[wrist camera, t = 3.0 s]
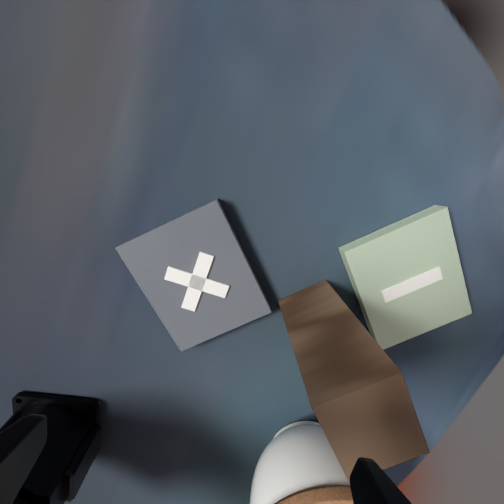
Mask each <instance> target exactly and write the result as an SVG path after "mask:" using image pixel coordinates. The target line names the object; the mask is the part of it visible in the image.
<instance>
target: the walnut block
mask: <svg viewBox="0 0 504 504" xmlns="http://www.w3.org/2000/svg"><path fill="white" fill-rule="evenodd" d="M278 302H279V305H280V308H281V312H282V315H283V318H284V321H285V324H286V328H287V331H288V334H289V337H290V340H291V343H292V347H293V350H294V353H295V356H296V359H297V362H298V366H299V369H300V372H301V375H302V378H303V381H304V385H305V388H306V391H307V394H308V397H309V400H310V404H311V407H312V409H313V411H314V413H315V415H316V417H317V419H318V421H319V423H320V425H321V427H322V429H323V431H324V433H325V435H326V437H327V439H328V441H329V443H330V445H331V447H332V449H333V451H334V453H335V455H336V457H337V459H338V461H339V463H340V465H341V467H342V469H343V471H344V473H345V475H346V477H347V479H348V481H349V482H350V474H351V472H352V470H353V468H354V465H355V463H356V461H357V459H358V458H359V457H364V458H371V459H373V460H374V461H375V462H376V463H377V464H378V465H379V467H380V468H381V469H382V470H384V469H387V468H389V467H392V466H395V465H397V464H400V463H403V462H406V461H408V460H411V459H414V458H416V457H419V456H422V455H424V454H427V453H430V452H429V449H428V446H427V443H426V440H425V438H424V435H423V432H422V429H421V426H420V423H419V420H418V418H417V415H416V412H415V409H414V406H413V403H412V400H411V398H410V395H409V392H408V389H407V386H406V383H405V380H404V378H403V375H402V372H401V371H400V370H399V368H398V367H397V366H396V365H395V364H394V362H393V361H392V360H391V359H390V358H389V356H388V355H387V354H386V353H385V351H384V350H383V349H382V348H381V347H380V345H379V344H378V343H377V342H376V340H375V339H374V338H373V337H372V336H371V334H370V333H369V332H368V331H367V330H366V328H365V327H364V326H363V325H362V323H361V322H360V321H359V320H358V319H357V317H356V316H355V315H354V314H353V312H352V311H351V310H350V309H349V308H348V306H347V305H346V304H345V303H344V302H343V300H342V299H341V298H340V297H339V295H338V294H337V293H336V292H335V291H334V289H333V288H332V287H331V286H330V284H329V283H328V282H327V281H326V280H324V281H322V282H320V283H317V284H315V285H313V286H310V287H308V288H306V289H303V290H301V291H299V292H297V293H294V294H292V295H290V296H287V297H285V298H283V299H280V300H278Z"/></svg>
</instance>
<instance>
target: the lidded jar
mask: <svg viewBox="0 0 504 504" xmlns="http://www.w3.org/2000/svg"><path fill="white" fill-rule="evenodd" d="M250 504H353V499H352V493H351V488H350V482H349V481H348V479H347V477H346V475H345V473H344V471H343V469H342V467H341V465H340V463H339V461H338V459H337V457H336V455H335V453H334V451H333V449H332V447H331V445H330V443H329V441H328V439H327V437H326V435H325V433H324V431H323V429H322V427H321V425H320V423H318V422H314V421H298V422H294V423H291V424H288V425H286V426H285V427H283V428H282V429H280V430H279V431H278V432H277V433H276V434H275V436H274V437H273V439H272V441H271V442H270V443H269V444H268V445H267V446H266V448H265V449H264V451H263V452H262V454H261V456H260V458H259V461H258V463H257V465H256V469H255V472H254V476H253V480H252V487H251V494H250Z"/></svg>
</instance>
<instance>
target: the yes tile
mask: <svg viewBox="0 0 504 504" xmlns="http://www.w3.org/2000/svg"><path fill="white" fill-rule="evenodd" d="M338 249H339V252H340V254H341V257H342V260H343V262H344V265H345V268H346V270H347V273H348V276H349V278H350V281H351V284H352V286H353V289H354V292H355V295H356V297H357V300H358V303H359V305H360V308H361V311H362V313H363V316H364V319H365V321H366V324H367V327H368V329H369V332H370V334H371V336H372V337H373V338H374V339H375V340H376V342H377V343H378V344H379V345H380V347H381V348H382V349H383V350H384V349H386V348H389V347H391V346H394V345H396V344H399V343H401V342H403V341H406V340H408V339H411V338H413V337H416V336H418V335H421V334H423V333H426V332H428V331H430V330H433V329H435V328H438V327H440V326H443V325H445V324H448V323H450V322H452V321H455V320H457V319H460V318H462V317H465V316H467V315H470V314H472V311H471V306H470V302H469V298H468V294H467V289H466V285H465V281H464V276H463V272H462V268H461V263H460V259H459V255H458V251H457V246H456V242H455V238H454V233H453V229H452V225H451V221H450V216H449V212H448V208H447V207H445V206H438V205H434V206H431V207H429V208H427V209H425V210H422V211H420V212H418V213H416V214H413V215H411V216H409V217H407V218H404V219H402V220H400V221H397V222H395V223H393V224H391V225H388V226H386V227H384V228H382V229H379V230H377V231H375V232H373V233H370V234H368V235H366V236H364V237H361V238H359V239H357V240H355V241H352V242H350V243H348V244H346V245H343V246H341V247H339V248H338Z"/></svg>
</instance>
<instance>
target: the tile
mask: <svg viewBox="0 0 504 504" xmlns="http://www.w3.org/2000/svg"><path fill="white" fill-rule="evenodd" d="M115 249H116V250H117V252H118V254H119V255H120V257H121V258H122V260H123V261H124V263H125V264H126V266H127V268H128V269H129V271H130V272H131V274H132V275H133V277H134V279H135V280H136V282H137V283H138V285H139V286H140V288H141V290H142V291H143V293H144V294H145V296H146V297H147V299H148V301H149V302H150V304H151V305H152V307H153V308H154V310H155V311H156V313H157V315H158V316H159V318H160V319H161V321H162V322H163V324H164V326H165V327H166V329H167V330H168V332H169V333H170V335H171V337H172V338H173V340H174V341H175V343H176V344H177V346H178V348H179V349H180V351H183V350H186V349H188V348H190V347H193V346H195V345H197V344H200V343H202V342H204V341H207V340H209V339H211V338H214V337H216V336H218V335H220V334H223V333H225V332H227V331H230V330H232V329H234V328H237V327H239V326H241V325H244V324H246V323H248V322H251V321H253V320H255V319H258V318H260V317H262V316H264V315H267V314H269V313H271V308H270V304H269V302H268V300H267V298H266V296H265V294H264V292H263V290H262V288H261V286H260V284H259V282H258V280H257V278H256V276H255V274H254V271H253V269H252V267H251V265H250V263H249V261H248V259H247V257H246V255H245V253H244V251H243V249H242V247H241V245H240V243H239V241H238V239H237V237H236V235H235V232H234V230H233V228H232V226H231V224H230V222H229V220H228V218H227V216H226V214H225V212H224V210H223V208H222V206H221V204H220V202H219V200H218V198H217V199H215V200H213V201H211V202H209V203H207V204H205V205H203V206H201V207H198V208H196V209H194V210H192V211H190V212H188V213H186V214H184V215H182V216H179V217H177V218H175V219H173V220H171V221H169V222H167V223H165V224H163V225H160V226H158V227H156V228H154V229H152V230H150V231H148V232H146V233H144V234H141V235H139V236H137V237H135V238H133V239H131V240H129V241H127V242H124V243H122V244H121V245H119V246H118V247H116V248H115Z"/></svg>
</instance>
